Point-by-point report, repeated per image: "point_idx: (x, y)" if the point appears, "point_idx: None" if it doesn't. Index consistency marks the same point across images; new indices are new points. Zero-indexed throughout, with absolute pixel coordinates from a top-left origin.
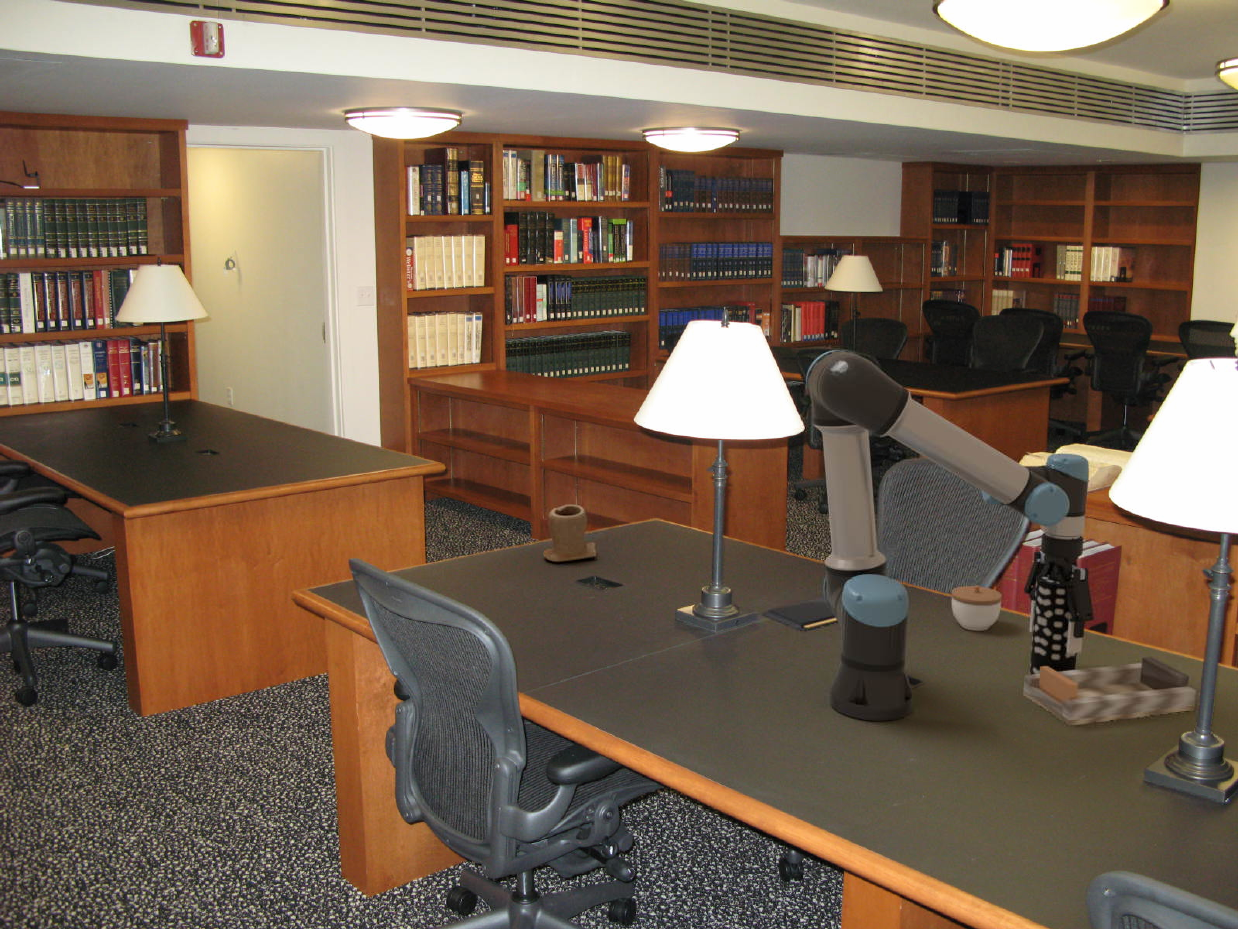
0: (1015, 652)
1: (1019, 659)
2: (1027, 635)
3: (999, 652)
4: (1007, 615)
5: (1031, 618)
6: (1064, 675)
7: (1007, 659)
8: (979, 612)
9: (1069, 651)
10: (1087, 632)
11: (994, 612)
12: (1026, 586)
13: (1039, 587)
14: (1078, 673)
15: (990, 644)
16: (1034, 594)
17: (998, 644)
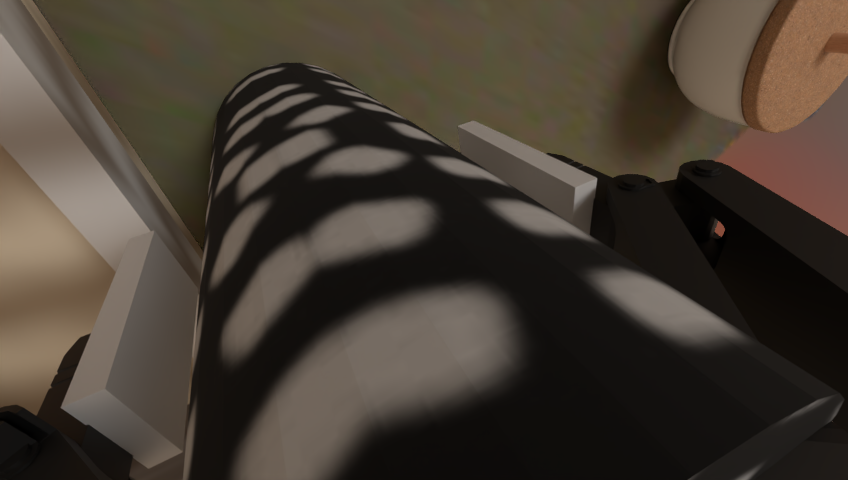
0: (512, 89)
1: (457, 80)
2: (601, 166)
3: (522, 28)
4: (702, 153)
5: (506, 143)
6: (22, 162)
7: (462, 32)
8: (733, 20)
9: (128, 247)
10: None
11: (709, 84)
12: (740, 185)
13: (498, 338)
14: (94, 235)
15: (584, 24)
16: (622, 213)
17: (577, 55)
